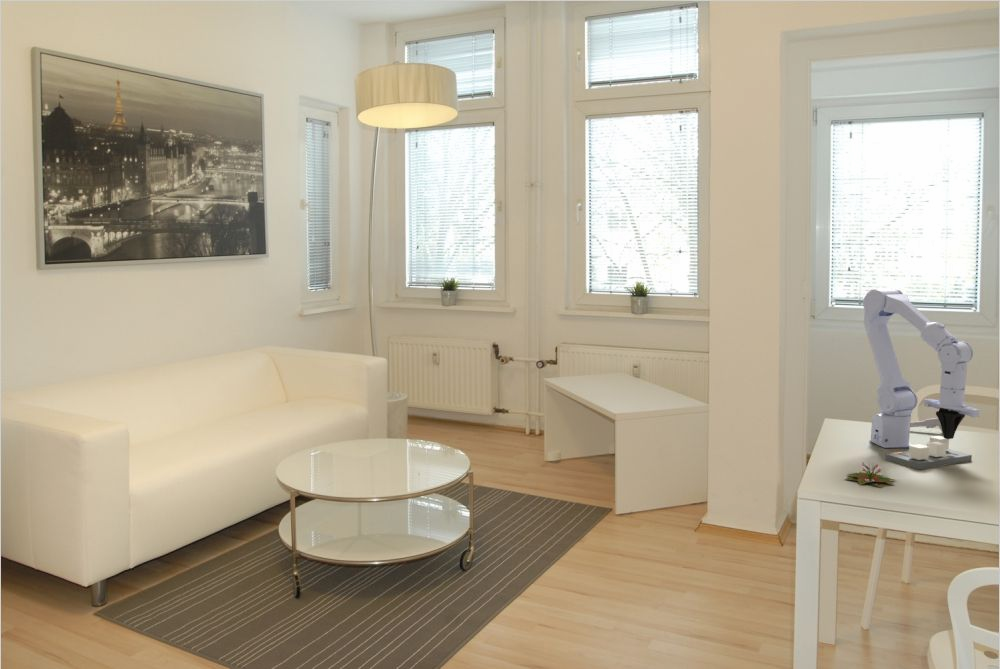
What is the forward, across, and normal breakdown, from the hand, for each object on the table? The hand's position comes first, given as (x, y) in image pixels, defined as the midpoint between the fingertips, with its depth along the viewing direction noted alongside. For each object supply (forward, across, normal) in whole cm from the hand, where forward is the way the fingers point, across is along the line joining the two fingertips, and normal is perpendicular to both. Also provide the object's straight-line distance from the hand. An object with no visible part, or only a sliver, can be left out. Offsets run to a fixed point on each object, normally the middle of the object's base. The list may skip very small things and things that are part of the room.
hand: (948, 438), depth 221 cm
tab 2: (+3, -1, +7) cm, 8 cm away
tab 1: (+3, +3, 0) cm, 4 cm away
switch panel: (+5, 0, +6) cm, 8 cm away
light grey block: (+3, -1, +13) cm, 14 cm away
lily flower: (+6, -6, +36) cm, 37 cm away
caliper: (+6, +24, -18) cm, 31 cm away
